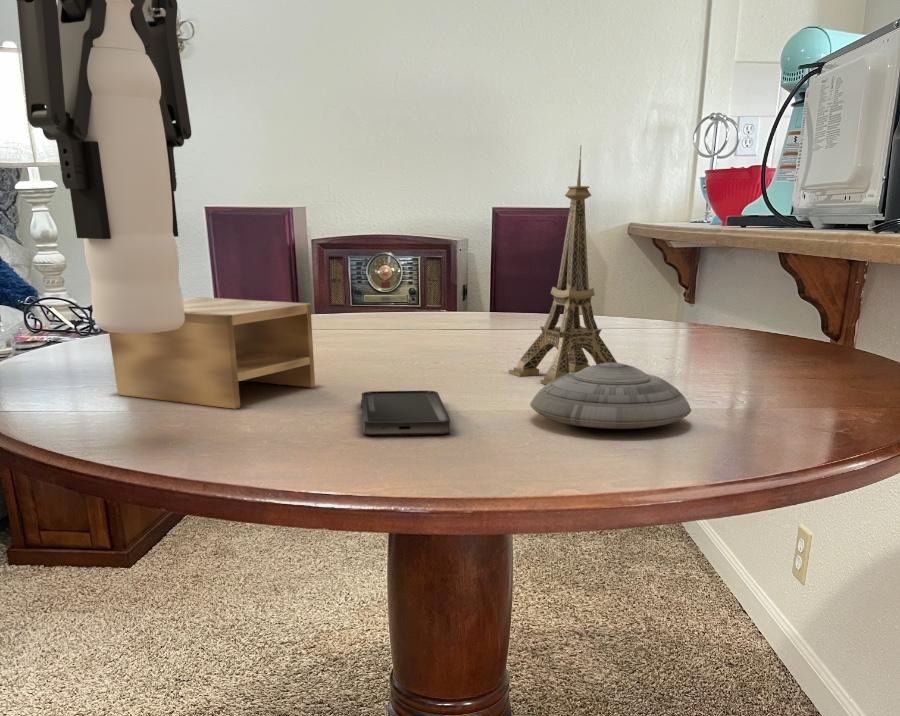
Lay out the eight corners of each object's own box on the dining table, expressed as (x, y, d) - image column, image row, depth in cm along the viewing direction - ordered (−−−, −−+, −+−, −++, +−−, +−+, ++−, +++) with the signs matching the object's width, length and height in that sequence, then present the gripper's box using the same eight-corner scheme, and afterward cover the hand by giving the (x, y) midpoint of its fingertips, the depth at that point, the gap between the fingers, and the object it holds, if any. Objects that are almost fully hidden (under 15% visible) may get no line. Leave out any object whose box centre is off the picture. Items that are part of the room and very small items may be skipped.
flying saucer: (499, 424, 83) (500, 364, 81) (578, 399, 94) (582, 346, 92) (645, 448, 75) (652, 382, 73) (714, 418, 86) (721, 360, 84)
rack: (117, 394, 96) (105, 307, 92) (205, 375, 107) (197, 296, 103) (235, 409, 89) (226, 315, 85) (315, 386, 101) (310, 303, 97)
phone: (436, 390, 92) (451, 421, 78) (436, 401, 93) (451, 433, 79) (360, 391, 91) (361, 422, 78) (360, 402, 92) (362, 435, 78)
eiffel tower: (508, 372, 110) (515, 146, 100) (581, 367, 114) (594, 149, 104) (552, 386, 101) (565, 140, 91) (629, 380, 105) (649, 143, 95)
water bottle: (82, 333, 70) (24, -53, 59) (113, 322, 76) (65, -28, 66) (172, 335, 70) (129, -51, 59) (195, 323, 76) (160, -26, 66)
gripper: (-2, -189, 51) (64, 242, 60) (221, -94, 67) (246, 235, 76) (-87, -169, 54) (-11, 239, 64) (147, -82, 70) (179, 233, 79)
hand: (129, 236), depth 70 cm, fingers closed on water bottle, 7 cm apart
